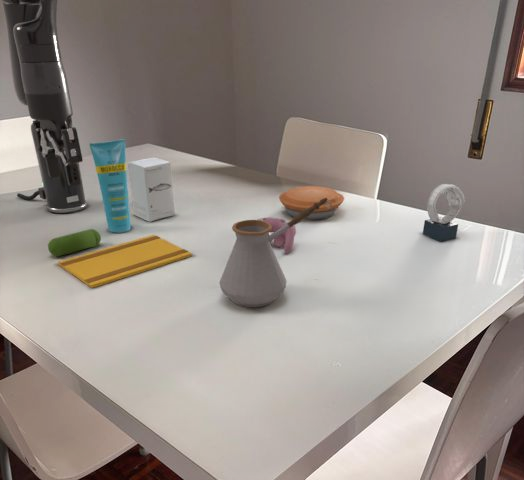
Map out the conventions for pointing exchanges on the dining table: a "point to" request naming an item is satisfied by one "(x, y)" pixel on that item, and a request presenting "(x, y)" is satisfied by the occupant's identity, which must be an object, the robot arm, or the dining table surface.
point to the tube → (113, 182)
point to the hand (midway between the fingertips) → (64, 180)
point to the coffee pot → (256, 262)
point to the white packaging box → (151, 188)
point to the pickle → (74, 242)
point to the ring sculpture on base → (443, 226)
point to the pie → (311, 201)
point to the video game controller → (284, 237)
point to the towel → (123, 260)
